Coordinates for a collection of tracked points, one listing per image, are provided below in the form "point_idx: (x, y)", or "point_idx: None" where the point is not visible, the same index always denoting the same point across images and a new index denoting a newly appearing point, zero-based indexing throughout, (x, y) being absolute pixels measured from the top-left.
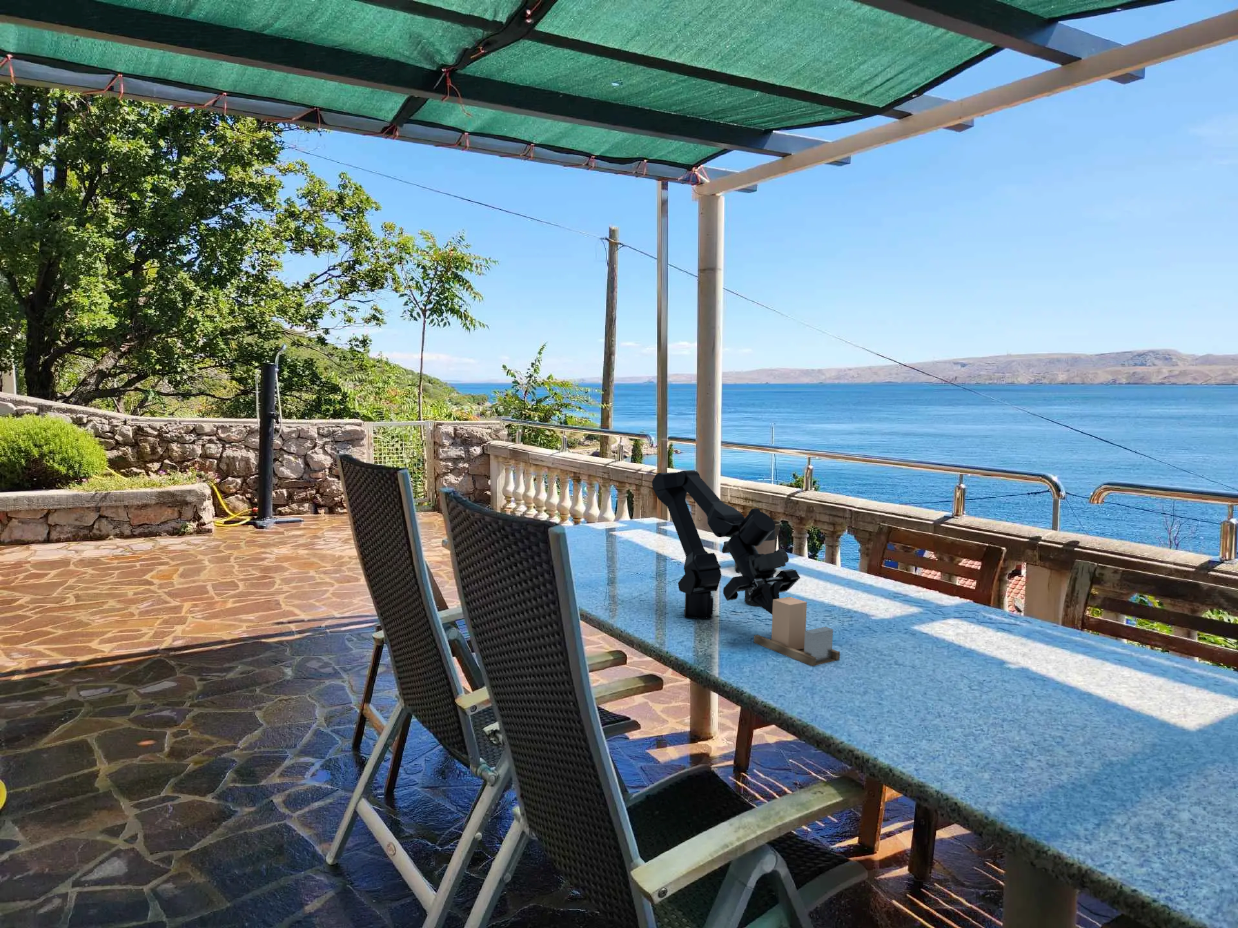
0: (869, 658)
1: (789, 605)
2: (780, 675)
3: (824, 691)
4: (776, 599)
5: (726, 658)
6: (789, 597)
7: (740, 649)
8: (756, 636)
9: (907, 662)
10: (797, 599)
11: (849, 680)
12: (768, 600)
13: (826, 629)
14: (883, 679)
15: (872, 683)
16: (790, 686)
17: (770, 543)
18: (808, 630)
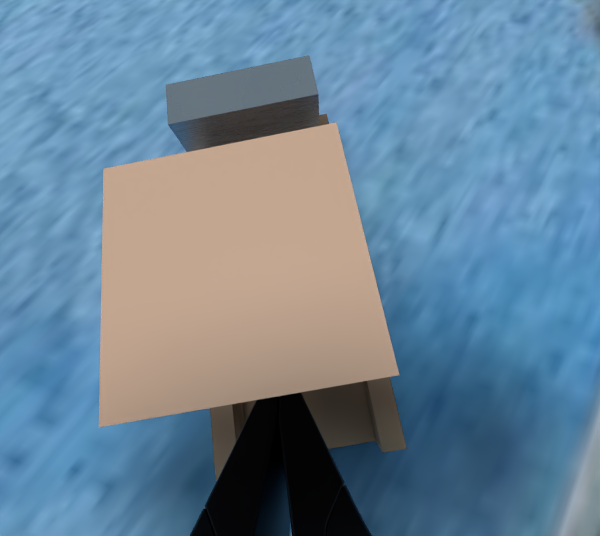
0: (86, 177)
1: (337, 130)
2: (450, 129)
3: (389, 19)
4: (352, 359)
5: (583, 324)
6: (129, 396)
7: (475, 410)
8: (401, 427)
9: (21, 125)
10: (112, 281)
11: (276, 60)
12: (365, 526)
13: (199, 88)
14: (188, 48)
15: (235, 34)
16: (463, 59)
17: None
18: (296, 95)
